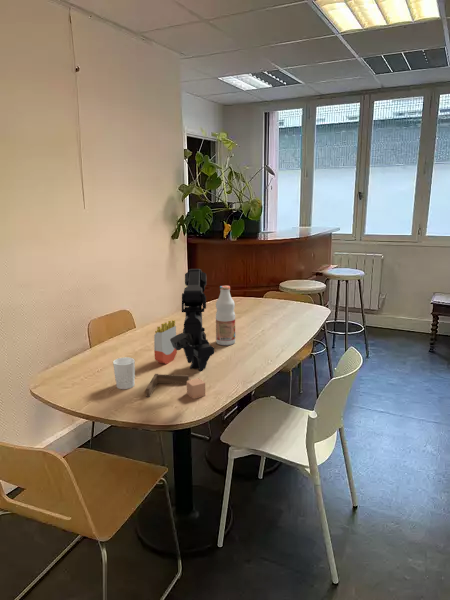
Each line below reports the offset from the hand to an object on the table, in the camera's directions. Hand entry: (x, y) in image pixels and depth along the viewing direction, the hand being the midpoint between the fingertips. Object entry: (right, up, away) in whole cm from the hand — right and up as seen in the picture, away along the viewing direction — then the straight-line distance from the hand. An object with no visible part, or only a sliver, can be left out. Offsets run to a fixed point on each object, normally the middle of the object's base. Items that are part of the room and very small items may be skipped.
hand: (195, 367), depth 158 cm
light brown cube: (0, -10, +2) cm, 11 cm away
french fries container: (-15, -3, +35) cm, 38 cm away
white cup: (-27, -9, +11) cm, 30 cm away
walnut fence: (-10, -9, +7) cm, 16 cm away
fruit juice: (+11, +3, +58) cm, 59 cm away
